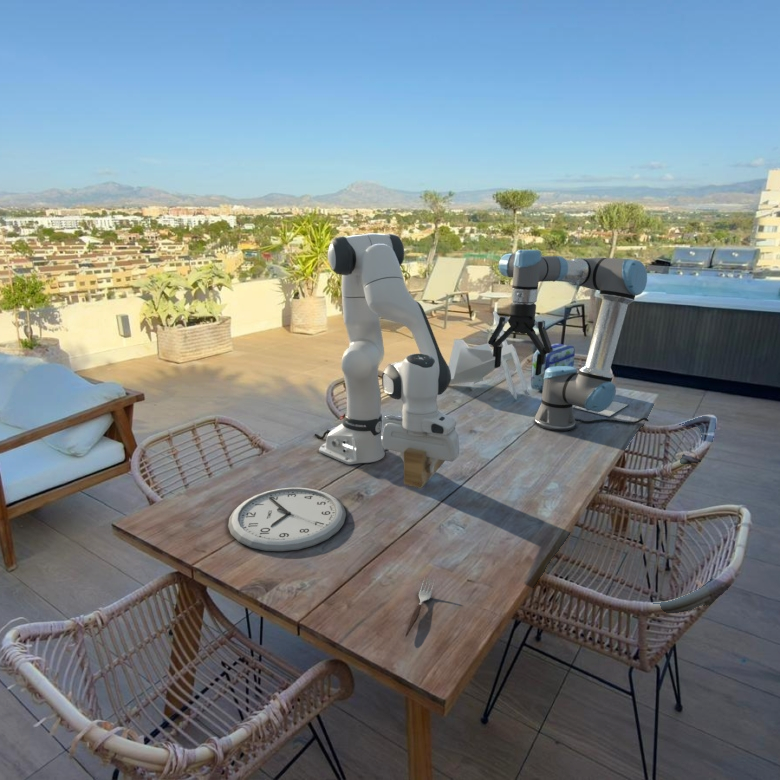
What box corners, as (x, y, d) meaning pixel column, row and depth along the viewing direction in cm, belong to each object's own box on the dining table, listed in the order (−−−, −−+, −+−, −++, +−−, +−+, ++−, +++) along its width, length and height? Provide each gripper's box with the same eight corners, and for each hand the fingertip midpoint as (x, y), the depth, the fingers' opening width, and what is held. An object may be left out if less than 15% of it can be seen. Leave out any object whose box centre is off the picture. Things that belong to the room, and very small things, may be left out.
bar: (439, 447, 155) (439, 418, 152) (454, 450, 153) (455, 421, 150) (403, 484, 133) (403, 451, 130) (421, 488, 131) (421, 455, 128)
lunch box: (547, 395, 239) (552, 351, 233) (526, 390, 247) (530, 347, 240) (574, 384, 257) (579, 343, 251) (554, 380, 264) (558, 339, 258)
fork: (398, 636, 97) (399, 628, 97) (423, 584, 111) (423, 576, 111) (412, 640, 96) (412, 631, 96) (435, 587, 111) (435, 579, 110)
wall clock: (346, 543, 123) (215, 547, 120) (346, 549, 123) (215, 553, 121) (345, 483, 151) (239, 485, 149) (345, 488, 152) (240, 490, 149)
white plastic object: (461, 429, 252) (437, 405, 227) (444, 352, 274) (420, 323, 250) (535, 404, 240) (518, 377, 215) (510, 326, 262) (492, 293, 237)
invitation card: (608, 416, 214) (573, 407, 224) (608, 416, 214) (573, 408, 224) (628, 404, 229) (594, 396, 238) (628, 405, 229) (594, 397, 238)
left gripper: (377, 417, 133) (377, 467, 137) (454, 429, 124) (452, 482, 128) (388, 409, 138) (388, 457, 142) (462, 421, 129) (460, 472, 134)
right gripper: (480, 300, 162) (476, 366, 168) (559, 308, 148) (551, 380, 154) (491, 297, 168) (486, 361, 174) (568, 305, 153) (560, 375, 160)
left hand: (419, 469), depth 135 cm, fingers closed on bar, 5 cm apart
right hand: (517, 370), depth 164 cm, fingers open, 13 cm apart
